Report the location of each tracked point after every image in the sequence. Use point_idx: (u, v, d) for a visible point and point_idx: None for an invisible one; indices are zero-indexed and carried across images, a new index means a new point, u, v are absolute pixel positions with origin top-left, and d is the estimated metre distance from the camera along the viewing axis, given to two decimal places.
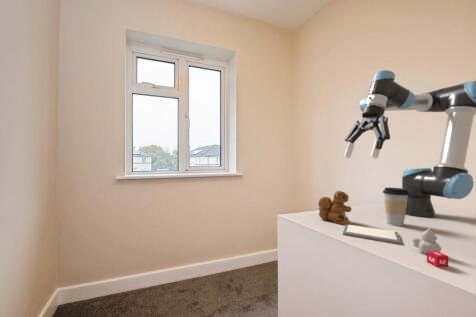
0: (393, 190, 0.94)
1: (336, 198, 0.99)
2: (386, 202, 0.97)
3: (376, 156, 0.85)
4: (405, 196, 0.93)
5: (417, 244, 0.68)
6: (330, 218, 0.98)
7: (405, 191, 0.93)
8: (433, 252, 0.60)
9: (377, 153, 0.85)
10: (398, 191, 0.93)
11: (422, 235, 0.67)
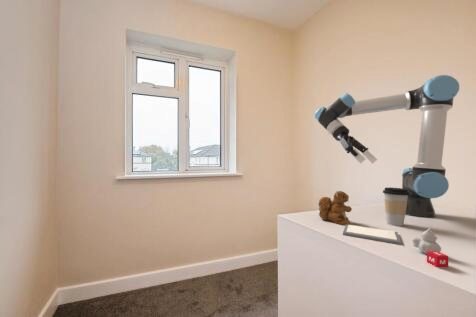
0: (393, 190, 0.94)
1: (336, 198, 0.99)
2: (386, 202, 0.97)
3: (362, 159, 1.00)
4: (405, 196, 0.93)
5: (417, 244, 0.68)
6: (330, 218, 0.98)
7: (405, 191, 0.93)
8: (433, 252, 0.60)
9: (360, 157, 1.01)
10: (398, 191, 0.93)
11: (422, 235, 0.67)
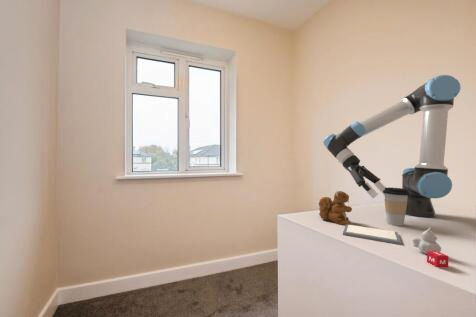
0: (393, 190, 0.94)
1: (336, 198, 0.98)
2: (386, 202, 0.97)
3: (375, 194, 0.96)
4: (405, 196, 0.93)
5: (417, 244, 0.68)
6: (330, 218, 0.98)
7: (405, 191, 0.93)
8: (433, 252, 0.60)
9: (373, 192, 0.97)
10: (398, 191, 0.93)
11: (422, 235, 0.67)
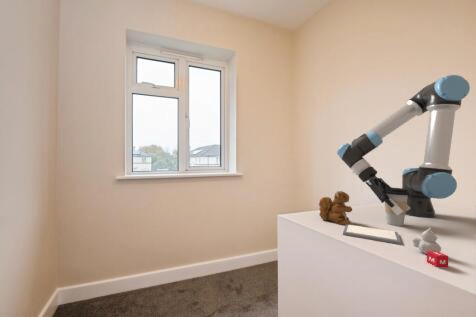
0: (393, 190, 0.94)
1: (337, 198, 0.98)
2: None
3: (400, 211, 0.91)
4: (405, 196, 0.93)
5: (417, 244, 0.68)
6: (331, 218, 0.98)
7: (405, 191, 0.93)
8: (433, 252, 0.60)
9: (398, 208, 0.92)
10: (398, 191, 0.93)
11: (422, 235, 0.67)
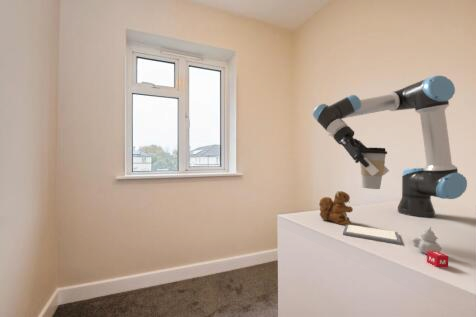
0: (369, 148, 0.84)
1: (337, 198, 0.98)
2: None
3: (375, 170, 0.80)
4: (382, 155, 0.82)
5: (417, 244, 0.68)
6: (331, 218, 0.97)
7: (382, 149, 0.82)
8: (433, 252, 0.60)
9: (373, 168, 0.81)
10: (374, 149, 0.82)
11: (422, 235, 0.67)
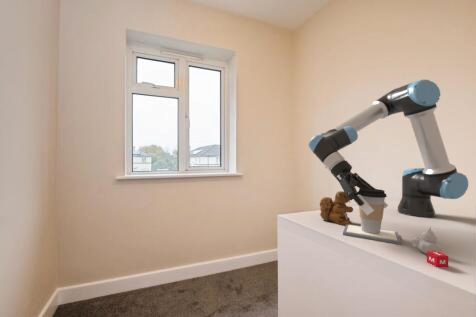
0: (367, 191, 0.80)
1: (338, 198, 0.98)
2: None
3: (370, 210, 0.76)
4: (381, 198, 0.79)
5: (417, 244, 0.68)
6: (331, 219, 0.97)
7: (381, 193, 0.79)
8: (433, 252, 0.60)
9: (367, 207, 0.77)
10: (373, 193, 0.79)
11: (422, 235, 0.67)
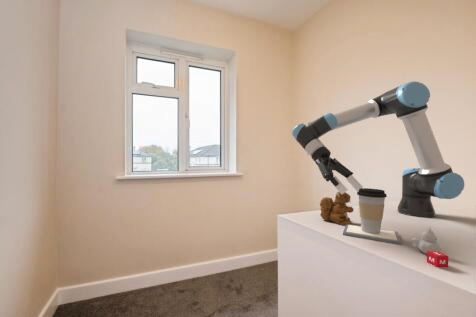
0: (367, 191, 0.80)
1: (338, 198, 0.98)
2: (360, 205, 0.83)
3: (344, 189, 0.83)
4: (381, 198, 0.79)
5: (417, 244, 0.68)
6: (332, 219, 0.97)
7: (381, 193, 0.79)
8: (433, 252, 0.60)
9: (342, 187, 0.84)
10: (373, 193, 0.79)
11: (422, 235, 0.67)
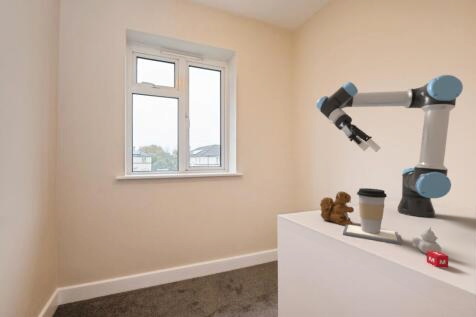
0: (367, 191, 0.80)
1: (338, 199, 0.97)
2: (360, 205, 0.83)
3: (366, 146, 0.98)
4: (381, 198, 0.79)
5: (417, 244, 0.68)
6: (332, 219, 0.97)
7: (381, 193, 0.79)
8: (433, 252, 0.60)
9: (364, 144, 0.99)
10: (373, 193, 0.79)
11: (422, 235, 0.67)
